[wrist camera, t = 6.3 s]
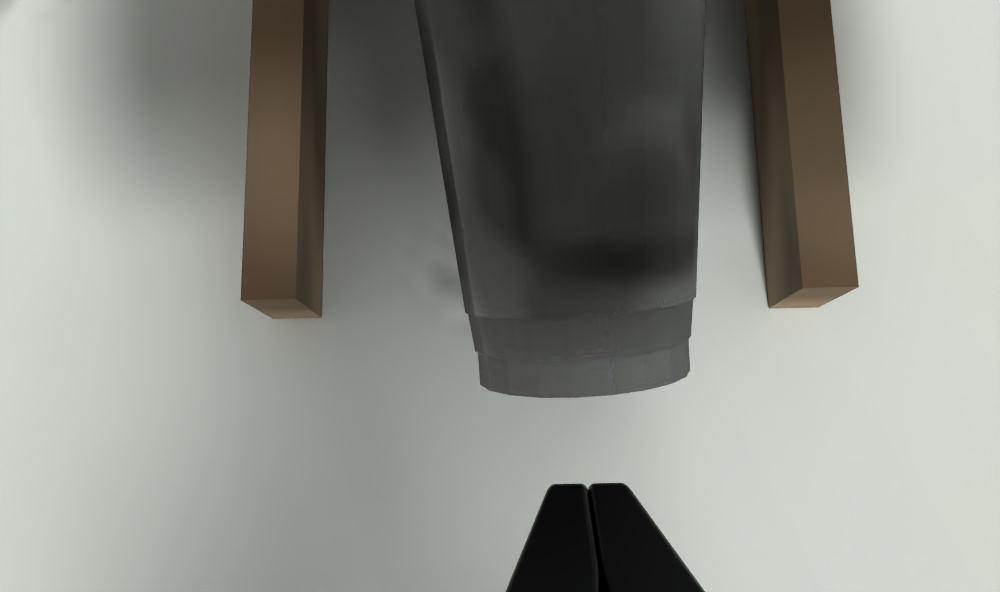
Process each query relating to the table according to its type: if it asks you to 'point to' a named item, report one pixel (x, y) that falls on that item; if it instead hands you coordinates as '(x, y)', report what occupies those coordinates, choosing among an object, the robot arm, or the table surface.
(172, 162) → the table surface
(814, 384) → the table surface
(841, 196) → the walnut bay
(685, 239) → the beverage cup
